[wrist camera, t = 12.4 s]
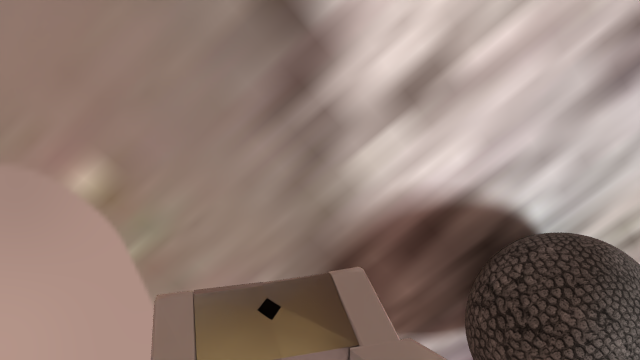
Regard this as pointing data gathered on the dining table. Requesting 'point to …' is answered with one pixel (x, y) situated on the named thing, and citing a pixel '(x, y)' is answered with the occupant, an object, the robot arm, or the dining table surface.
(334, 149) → the dining table surface
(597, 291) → the decorative ball
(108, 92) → the dining table surface
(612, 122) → the dining table surface
